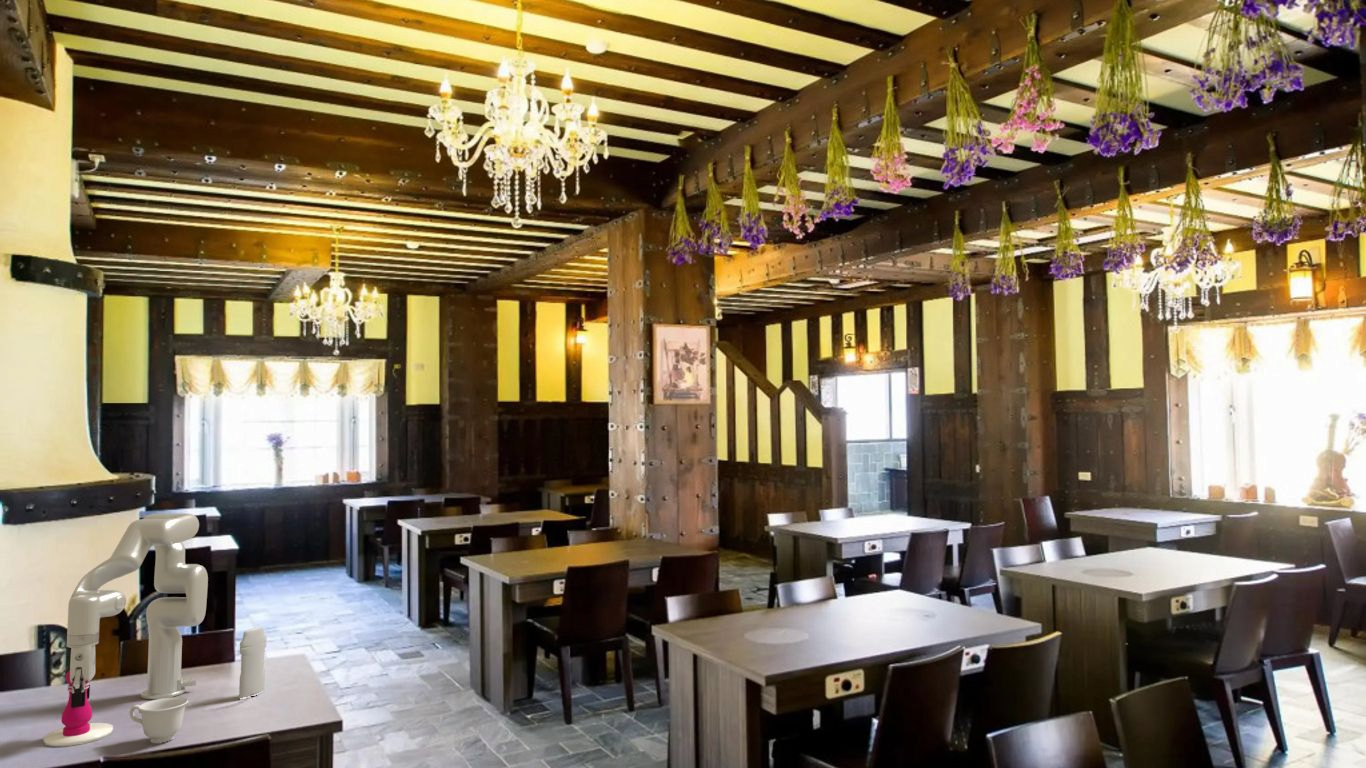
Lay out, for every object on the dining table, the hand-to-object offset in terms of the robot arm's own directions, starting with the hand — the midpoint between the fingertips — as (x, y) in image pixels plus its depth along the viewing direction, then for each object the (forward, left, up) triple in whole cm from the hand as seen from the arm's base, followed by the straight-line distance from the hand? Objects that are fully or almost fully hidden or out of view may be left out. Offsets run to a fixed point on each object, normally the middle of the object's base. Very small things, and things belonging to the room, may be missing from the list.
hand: (80, 702), depth 240 cm
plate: (0, 0, -9) cm, 9 cm away
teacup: (-20, +14, -10) cm, 26 cm away
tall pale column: (-44, -20, -10) cm, 49 cm away
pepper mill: (+1, 0, -8) cm, 8 cm away
